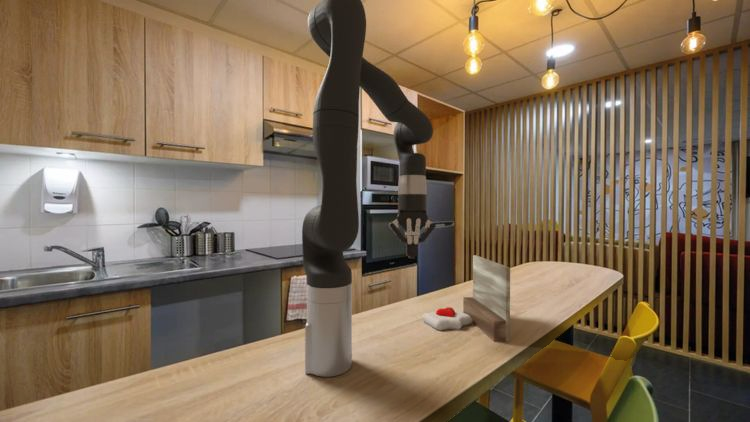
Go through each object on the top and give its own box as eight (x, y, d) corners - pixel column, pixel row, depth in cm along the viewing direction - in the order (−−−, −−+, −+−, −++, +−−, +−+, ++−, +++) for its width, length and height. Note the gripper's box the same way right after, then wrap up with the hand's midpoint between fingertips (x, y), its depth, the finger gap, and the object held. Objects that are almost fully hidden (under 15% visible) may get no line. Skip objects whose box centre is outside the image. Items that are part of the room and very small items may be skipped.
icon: (442, 318, 81) (420, 307, 90) (441, 335, 81) (420, 322, 90) (478, 312, 86) (454, 302, 95) (478, 327, 86) (454, 316, 95)
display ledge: (494, 341, 76) (494, 268, 76) (463, 313, 96) (463, 255, 96) (509, 340, 77) (510, 267, 76) (475, 313, 97) (476, 255, 96)
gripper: (389, 192, 79) (389, 260, 79) (440, 192, 80) (440, 260, 80) (385, 193, 86) (385, 255, 87) (432, 194, 88) (431, 255, 88)
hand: (411, 257), depth 83 cm, fingers closed
